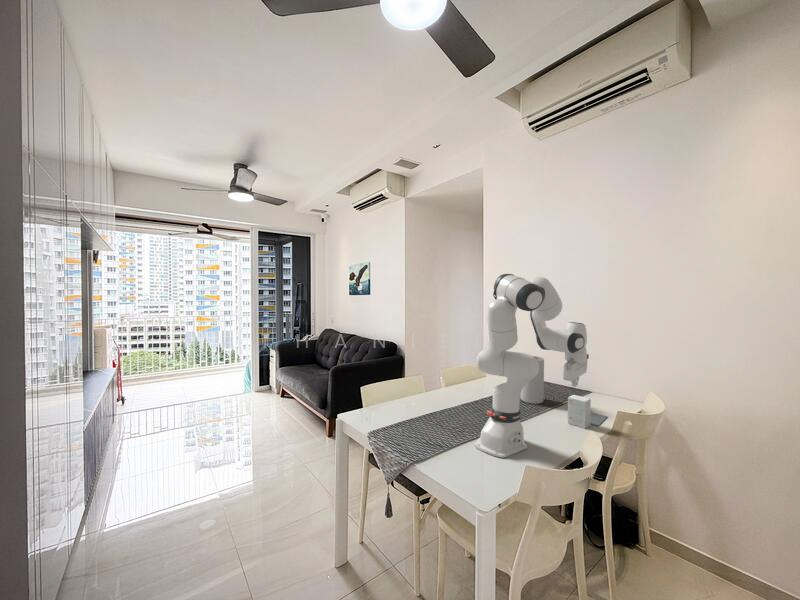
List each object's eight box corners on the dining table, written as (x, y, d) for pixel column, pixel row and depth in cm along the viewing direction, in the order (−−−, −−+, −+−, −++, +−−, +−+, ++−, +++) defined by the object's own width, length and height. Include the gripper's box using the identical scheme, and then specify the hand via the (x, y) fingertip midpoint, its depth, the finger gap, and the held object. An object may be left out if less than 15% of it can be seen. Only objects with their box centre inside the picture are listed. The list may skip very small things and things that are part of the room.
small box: (590, 425, 151) (591, 398, 150) (585, 429, 147) (585, 401, 146) (572, 419, 157) (573, 394, 157) (567, 423, 153) (567, 397, 153)
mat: (597, 426, 150) (597, 425, 150) (577, 420, 156) (577, 419, 156) (607, 417, 160) (607, 416, 160) (587, 411, 167) (587, 411, 167)
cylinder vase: (536, 396, 191) (537, 355, 190) (547, 404, 178) (548, 360, 177) (516, 396, 190) (517, 355, 189) (526, 404, 178) (527, 360, 176)
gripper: (574, 361, 136) (574, 393, 137) (590, 354, 150) (589, 382, 151) (559, 359, 141) (559, 389, 142) (575, 352, 155) (575, 379, 156)
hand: (574, 386), depth 146 cm, fingers closed
